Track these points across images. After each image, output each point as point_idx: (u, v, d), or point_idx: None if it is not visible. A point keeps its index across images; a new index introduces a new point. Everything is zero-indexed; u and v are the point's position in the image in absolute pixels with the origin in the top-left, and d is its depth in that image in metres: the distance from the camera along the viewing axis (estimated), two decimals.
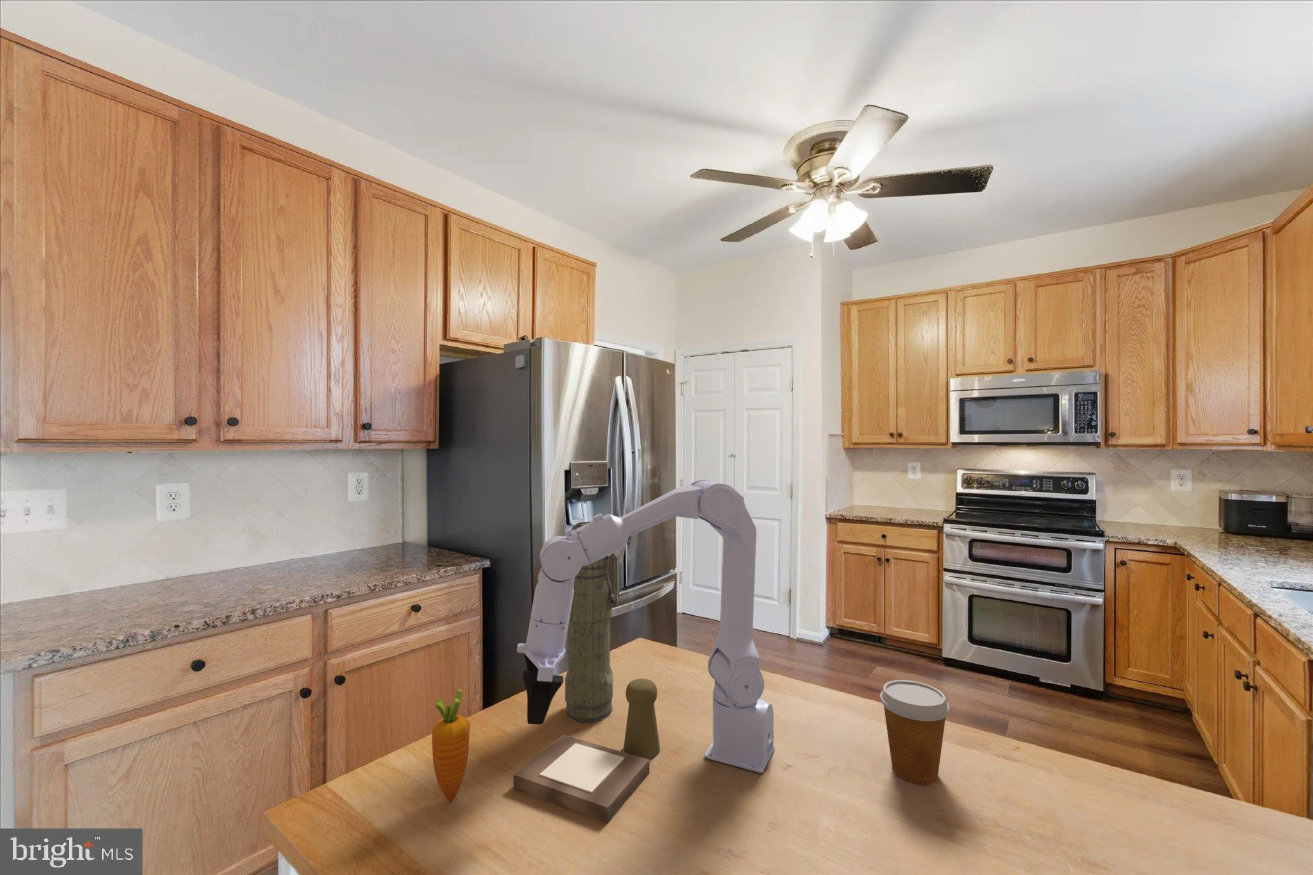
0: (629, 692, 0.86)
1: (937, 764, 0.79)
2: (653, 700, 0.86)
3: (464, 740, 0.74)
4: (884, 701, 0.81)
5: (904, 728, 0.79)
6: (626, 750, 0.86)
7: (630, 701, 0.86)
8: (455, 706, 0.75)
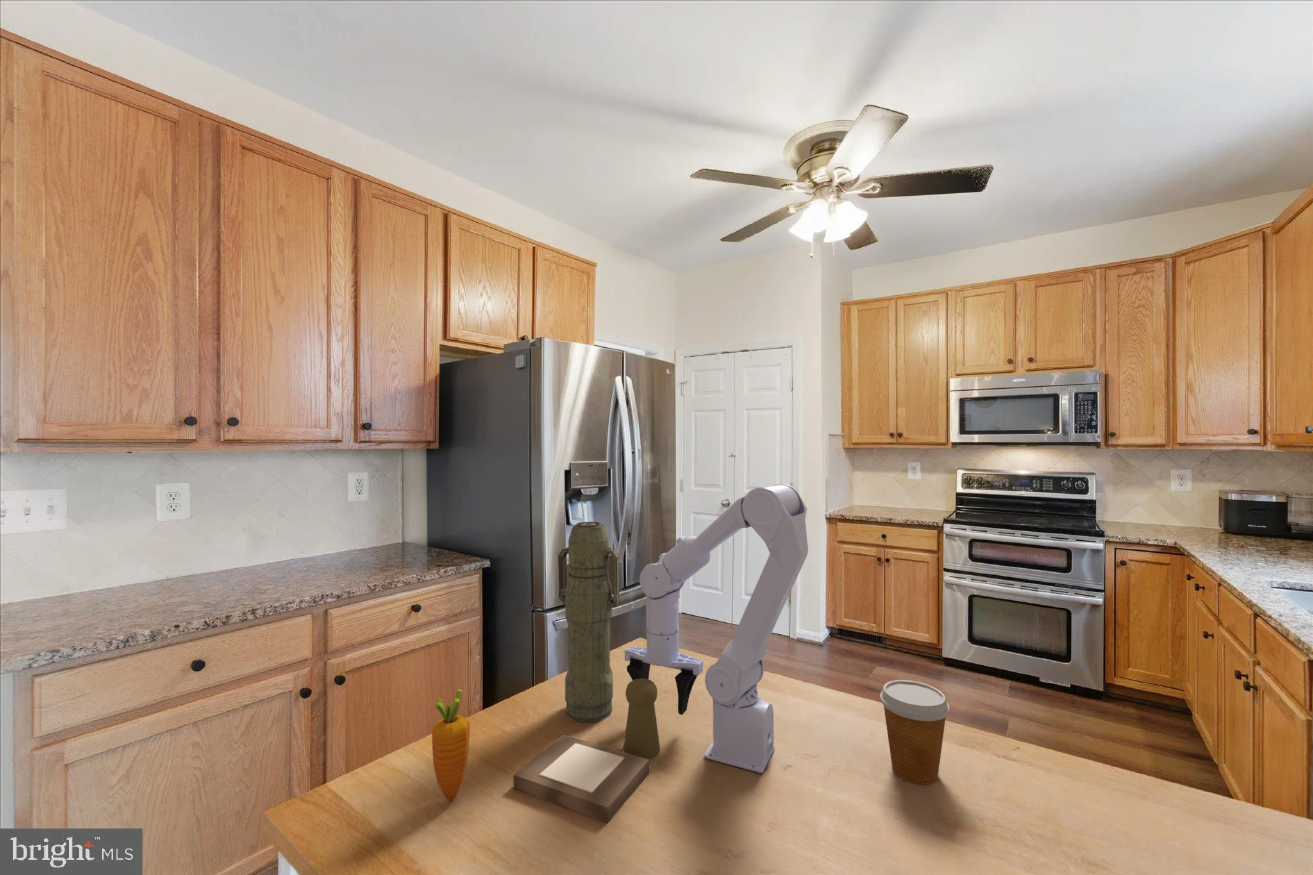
0: (629, 692, 0.86)
1: (937, 764, 0.79)
2: (653, 700, 0.86)
3: (464, 740, 0.74)
4: (884, 701, 0.81)
5: (904, 728, 0.79)
6: (626, 750, 0.86)
7: (630, 701, 0.86)
8: (455, 706, 0.75)
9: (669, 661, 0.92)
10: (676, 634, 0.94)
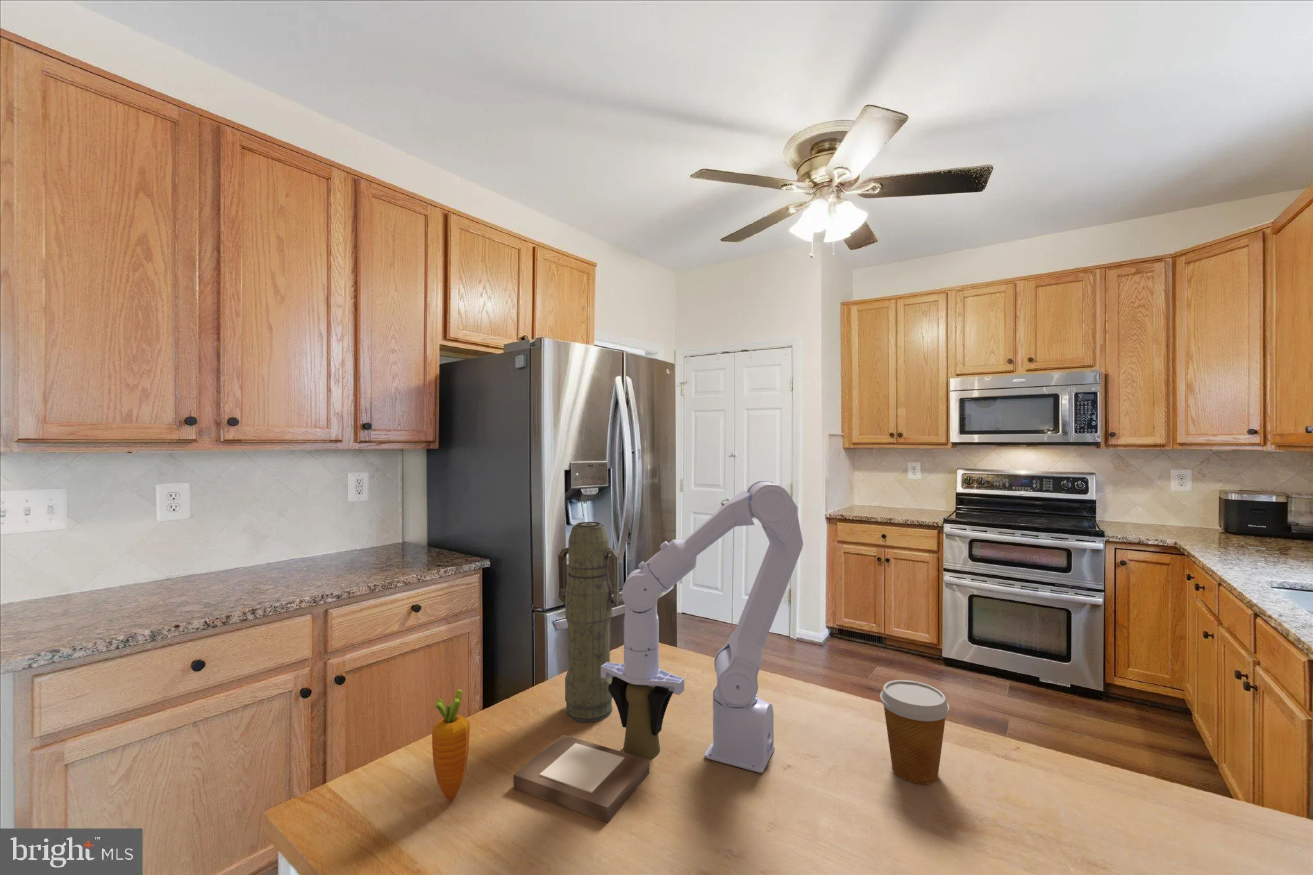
0: (629, 692, 0.86)
1: (937, 764, 0.79)
2: None
3: (464, 740, 0.74)
4: (884, 701, 0.81)
5: (904, 728, 0.79)
6: (626, 750, 0.86)
7: (630, 701, 0.86)
8: (455, 706, 0.75)
9: (648, 679, 0.85)
10: (656, 650, 0.87)
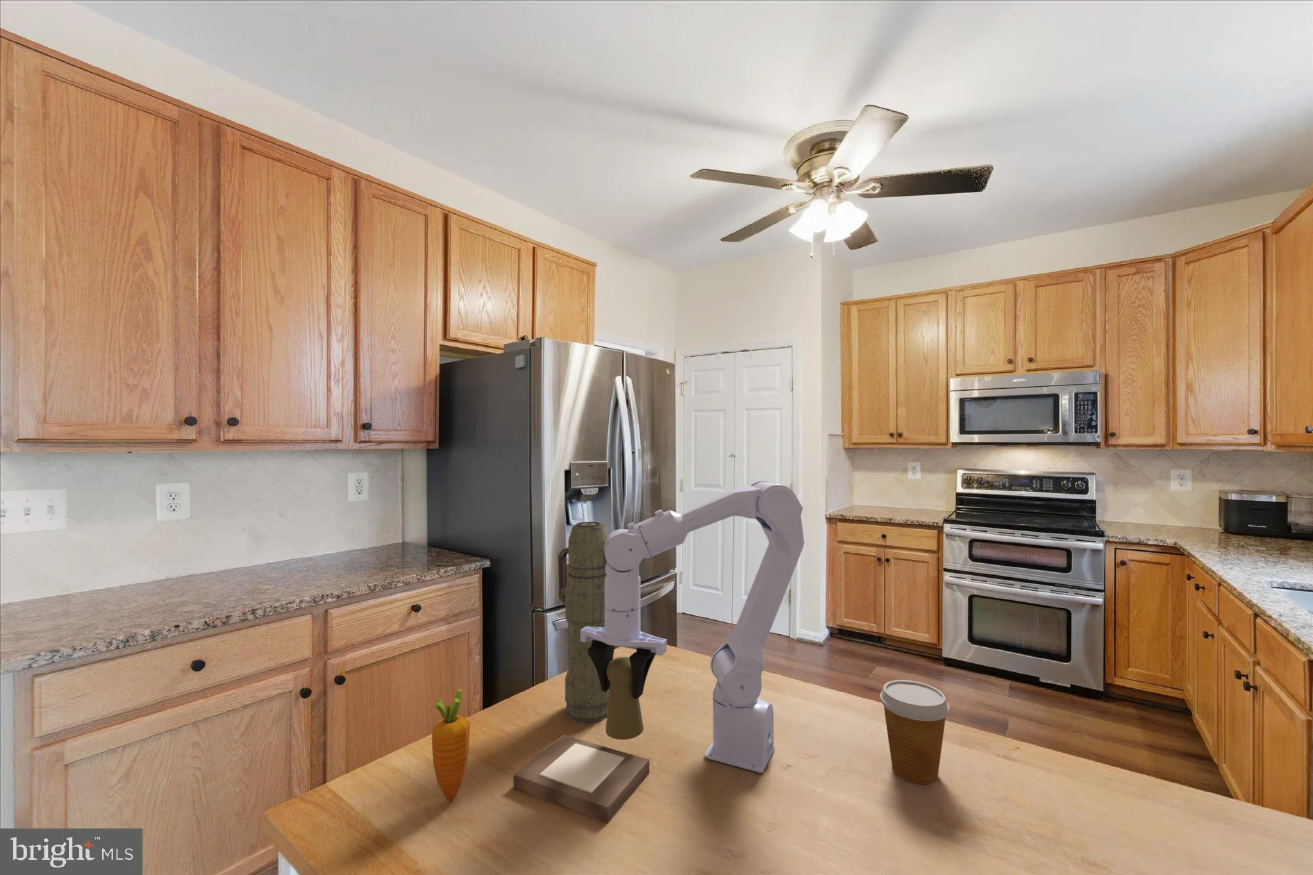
0: (609, 670, 0.84)
1: (937, 764, 0.79)
2: None
3: (464, 740, 0.74)
4: (884, 701, 0.81)
5: (904, 728, 0.79)
6: (607, 729, 0.84)
7: (610, 679, 0.84)
8: (455, 706, 0.75)
9: (629, 640, 0.83)
10: (637, 611, 0.84)
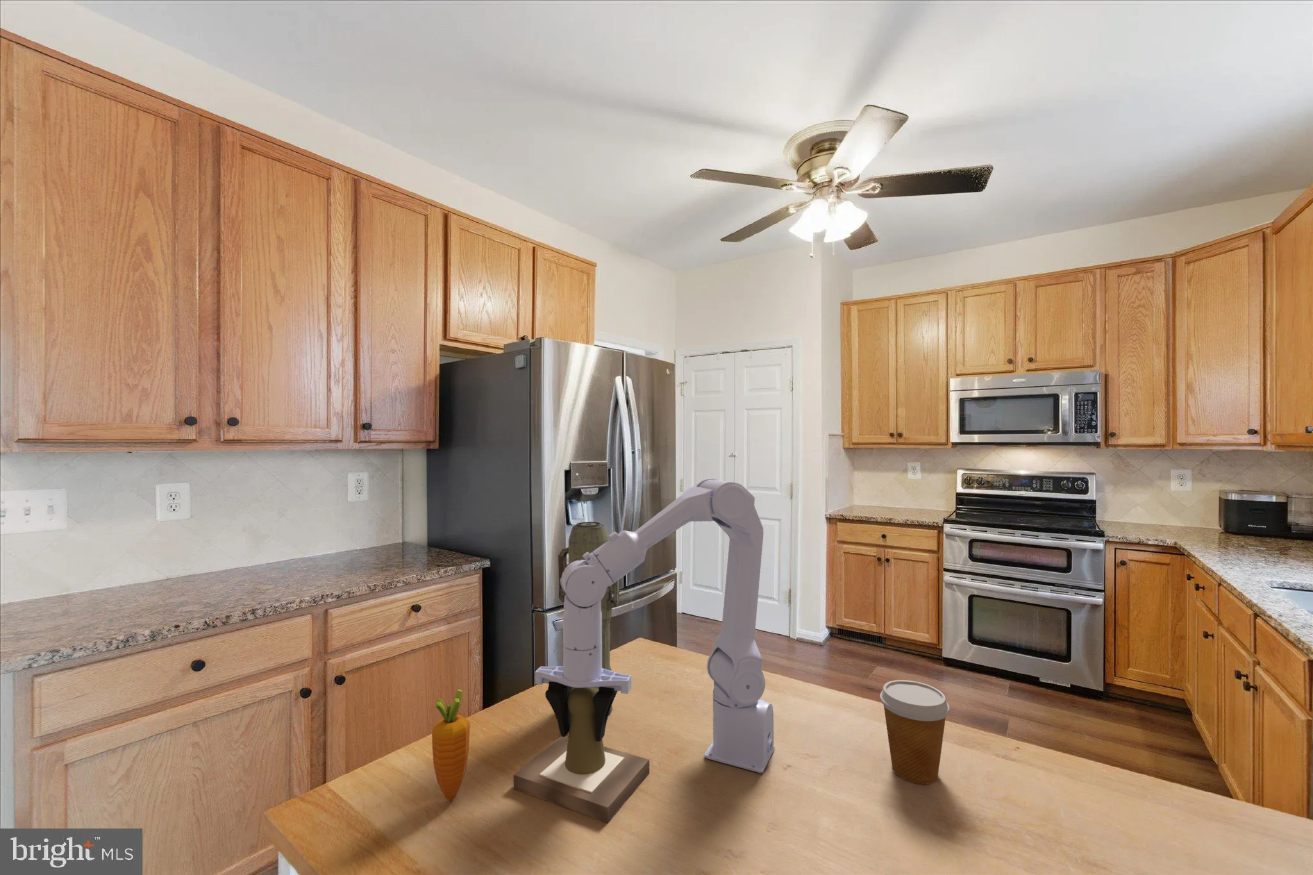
0: (571, 700, 0.79)
1: (937, 764, 0.79)
2: None
3: (464, 740, 0.74)
4: (884, 701, 0.81)
5: (904, 728, 0.79)
6: (568, 764, 0.79)
7: (572, 710, 0.79)
8: (455, 706, 0.75)
9: (592, 680, 0.77)
10: (600, 647, 0.79)
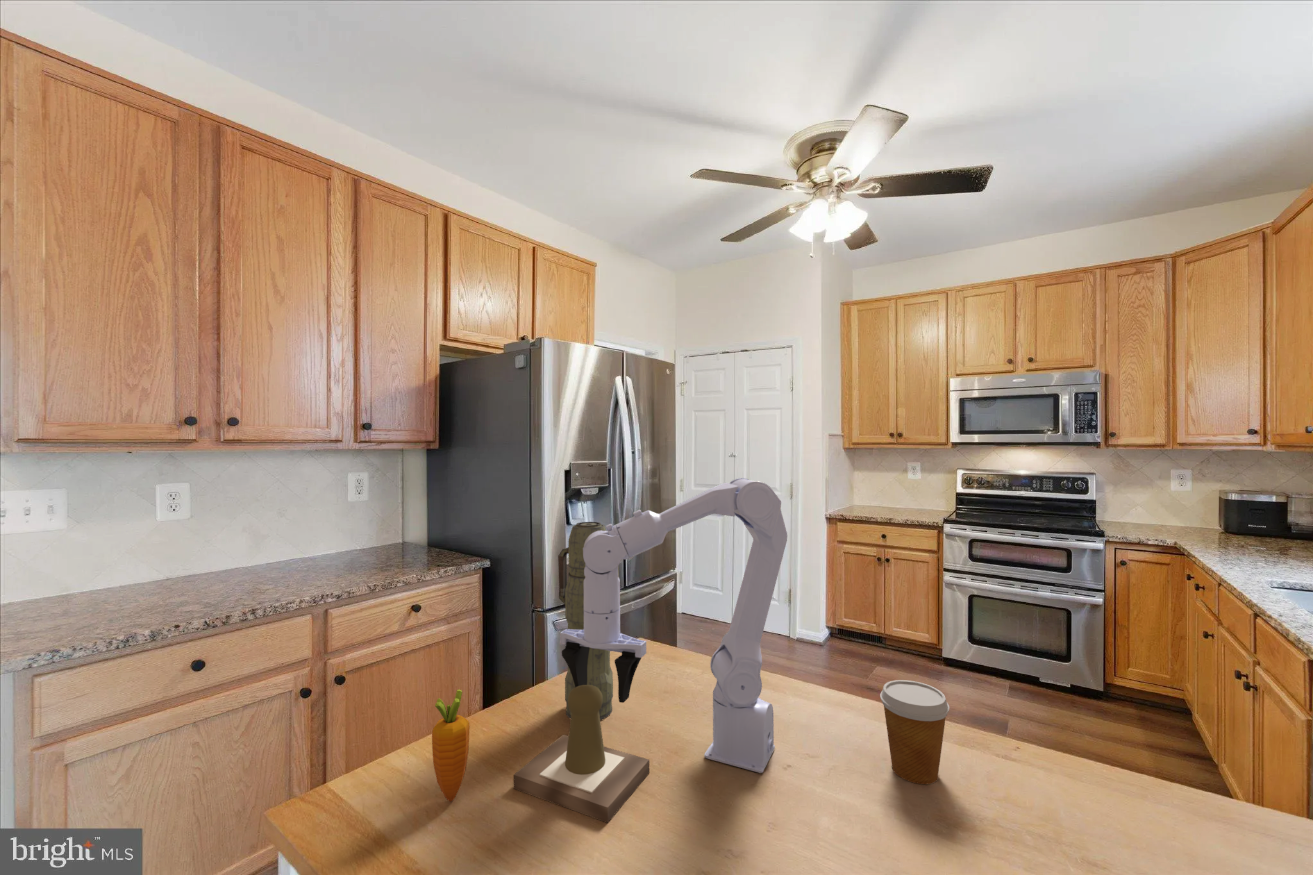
0: (571, 700, 0.79)
1: (937, 764, 0.79)
2: (598, 708, 0.79)
3: (464, 740, 0.74)
4: (884, 701, 0.81)
5: (904, 728, 0.79)
6: (568, 764, 0.79)
7: (573, 710, 0.79)
8: (455, 706, 0.75)
9: (608, 643, 0.82)
10: (617, 613, 0.83)
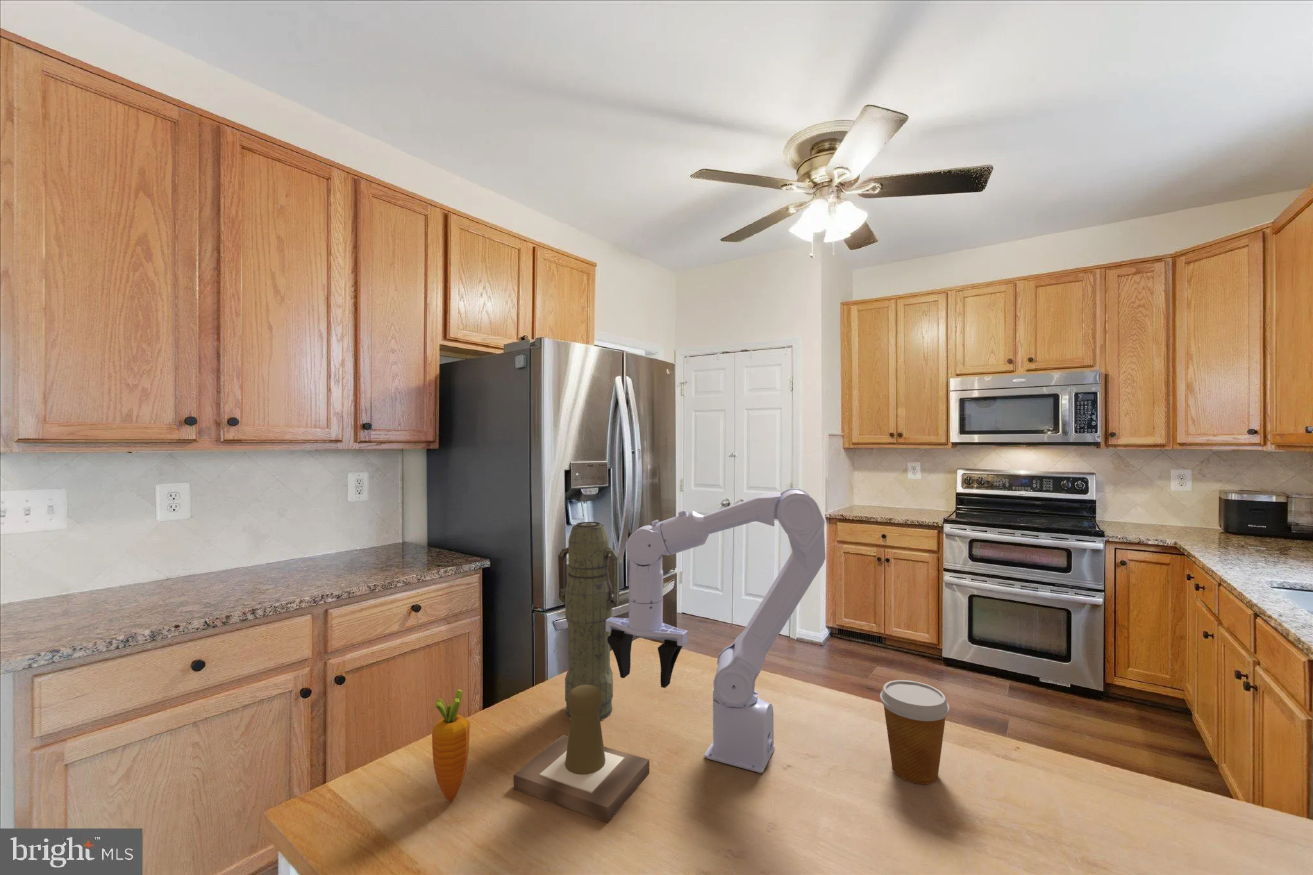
0: (571, 700, 0.79)
1: (937, 764, 0.79)
2: (598, 708, 0.79)
3: (464, 740, 0.74)
4: (884, 701, 0.81)
5: (904, 728, 0.79)
6: (568, 764, 0.79)
7: (573, 710, 0.79)
8: (455, 706, 0.75)
9: (652, 631, 0.87)
10: (660, 603, 0.88)
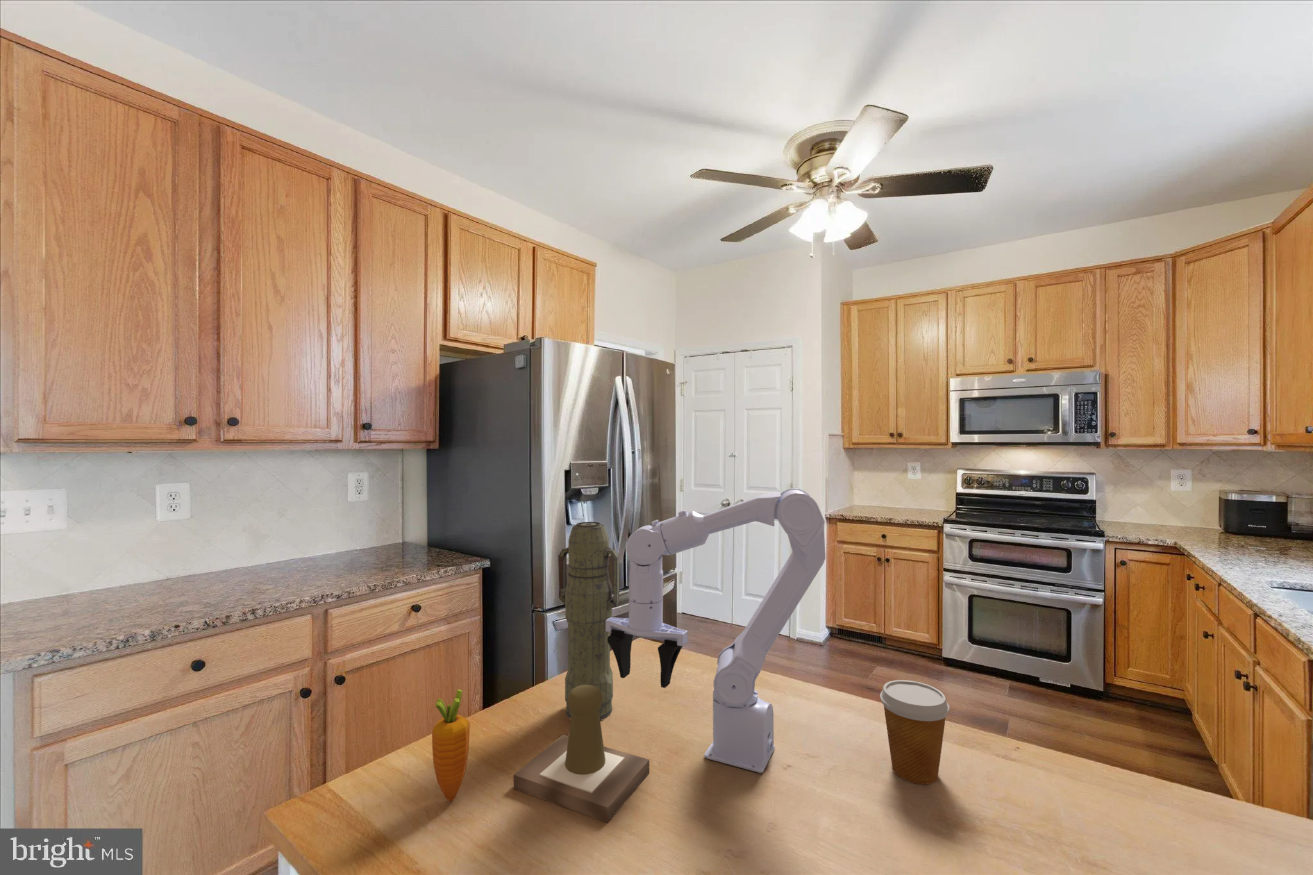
0: (571, 700, 0.79)
1: (937, 764, 0.79)
2: (598, 708, 0.79)
3: (464, 740, 0.75)
4: (884, 701, 0.81)
5: (904, 728, 0.79)
6: (568, 764, 0.79)
7: (573, 710, 0.79)
8: (455, 706, 0.75)
9: (652, 631, 0.87)
10: (660, 603, 0.88)
